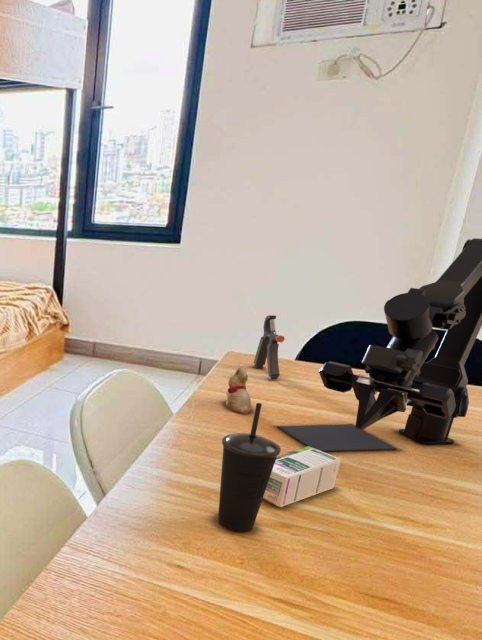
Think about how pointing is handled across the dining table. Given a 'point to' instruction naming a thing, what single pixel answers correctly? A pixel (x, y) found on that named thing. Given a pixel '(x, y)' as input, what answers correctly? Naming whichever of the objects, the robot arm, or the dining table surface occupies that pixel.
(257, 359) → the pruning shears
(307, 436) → the placemat
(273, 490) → the syrup box
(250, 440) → the drinking cup
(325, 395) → the dining table surface
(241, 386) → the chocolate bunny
